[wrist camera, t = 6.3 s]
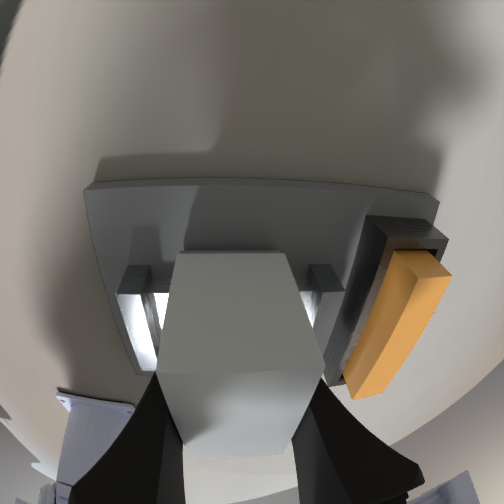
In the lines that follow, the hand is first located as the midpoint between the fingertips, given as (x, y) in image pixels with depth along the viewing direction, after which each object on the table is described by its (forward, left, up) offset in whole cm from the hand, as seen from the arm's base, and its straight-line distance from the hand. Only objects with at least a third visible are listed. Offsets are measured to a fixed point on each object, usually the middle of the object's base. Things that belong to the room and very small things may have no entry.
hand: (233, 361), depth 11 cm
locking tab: (0, -8, -2) cm, 8 cm away
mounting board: (0, -2, -4) cm, 5 cm away
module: (0, 0, -3) cm, 3 cm away
